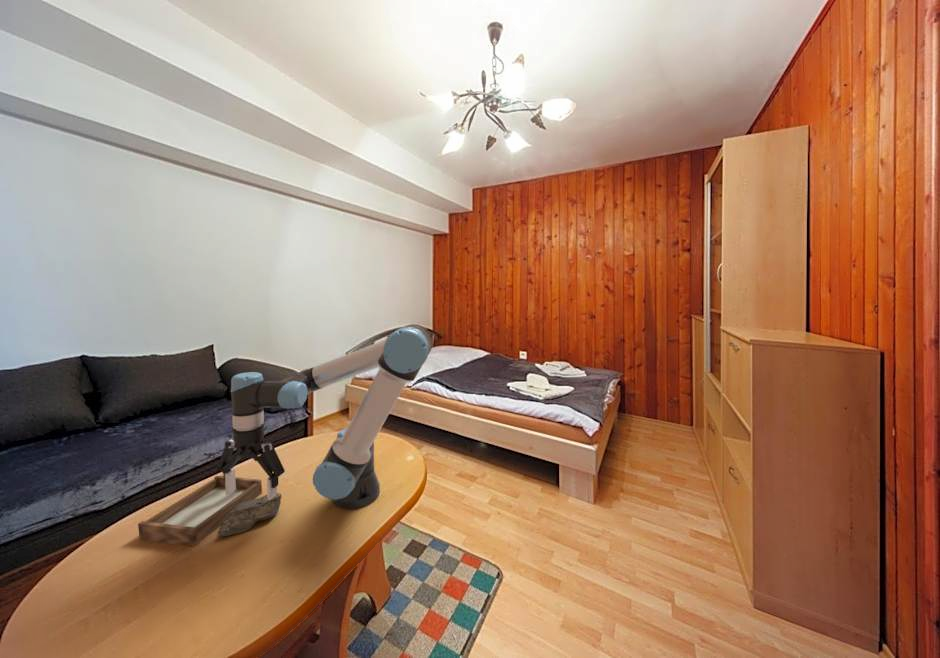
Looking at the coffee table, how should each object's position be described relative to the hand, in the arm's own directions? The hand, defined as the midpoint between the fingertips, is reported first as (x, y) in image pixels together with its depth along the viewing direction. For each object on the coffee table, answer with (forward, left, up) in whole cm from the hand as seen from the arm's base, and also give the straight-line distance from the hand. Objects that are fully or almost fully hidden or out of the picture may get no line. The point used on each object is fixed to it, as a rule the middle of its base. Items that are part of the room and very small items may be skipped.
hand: (251, 494), depth 96 cm
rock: (0, 0, -9) cm, 9 cm away
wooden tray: (+17, -1, -9) cm, 19 cm away
